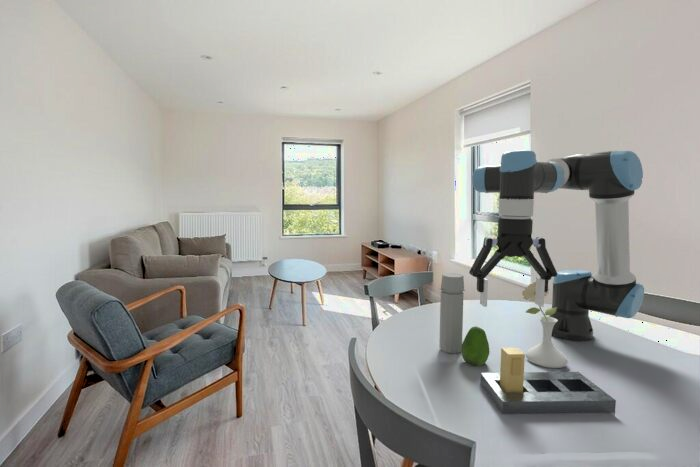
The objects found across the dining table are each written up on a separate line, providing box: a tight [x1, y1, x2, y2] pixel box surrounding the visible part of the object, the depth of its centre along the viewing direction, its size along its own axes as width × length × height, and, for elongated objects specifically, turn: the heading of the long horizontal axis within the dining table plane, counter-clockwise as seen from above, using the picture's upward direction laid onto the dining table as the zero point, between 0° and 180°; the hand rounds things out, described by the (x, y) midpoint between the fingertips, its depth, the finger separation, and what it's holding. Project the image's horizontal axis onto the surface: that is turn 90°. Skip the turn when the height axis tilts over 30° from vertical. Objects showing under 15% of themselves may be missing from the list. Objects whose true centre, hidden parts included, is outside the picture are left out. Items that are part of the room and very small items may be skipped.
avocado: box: [460, 326, 491, 367], centre depth 113 cm, size 8×8×12 cm
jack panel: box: [480, 371, 617, 417], centre depth 94 cm, size 26×14×4 cm, turn 91°
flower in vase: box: [522, 281, 569, 369], centre depth 114 cm, size 13×11×25 cm
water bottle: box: [439, 272, 466, 355], centre depth 125 cm, size 9×8×25 cm
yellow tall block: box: [499, 346, 526, 392], centre depth 93 cm, size 4×5×12 cm
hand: (511, 305), depth 93 cm, fingers open, 13 cm apart
